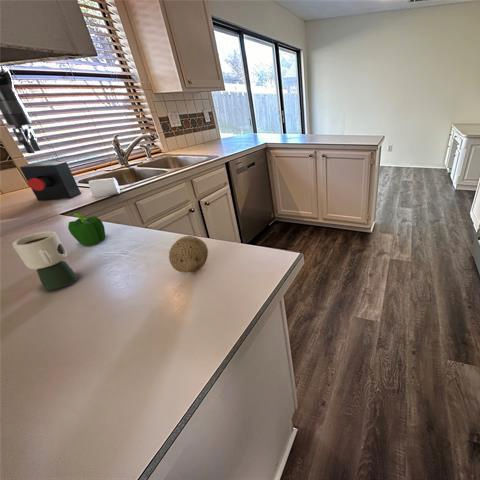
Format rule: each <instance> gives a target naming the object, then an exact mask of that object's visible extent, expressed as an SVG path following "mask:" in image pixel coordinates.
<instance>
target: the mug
mask: <svg viewBox="0 0 480 480" xmlns="http://www.w3.org/2000/svg"><path fill="white" fill-rule="evenodd" d="M88 188H89V191H90V192H91V194H92V196H93V197H94V198H100V197H101V198H102V197H108V196H109V197H110V196H115V195H120V194H121V188H120V185H119V182H118V180H117V179H116V178H115V177H110V178H100V179H92V180H88Z"/></svg>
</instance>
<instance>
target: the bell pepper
mask: <svg viewBox="0 0 480 480" xmlns="http://www.w3.org/2000/svg"><path fill="white" fill-rule="evenodd" d="M72 215H73V217H78V218H77V219H75V220H71V221H68V226H67V228H68V231H69V233H70V235H71V236H72V237H73V238H74V240H76V241H77V242H78V243H79V244H80V245H83V246H84V247H92V246H96V245H99V244H100V243H101V242H104V241H105V240H106V229H105V226H104V223H103V221H102V220H101V219H100V218H99V217H97V216H96V215H94V216H93V215H92V216H88V217H87V218H86V217H84V216H83V215H82V214H80V213H78V212H76V213H73V214H72Z"/></svg>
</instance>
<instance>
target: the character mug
mask: <svg viewBox="0 0 480 480" xmlns="http://www.w3.org/2000/svg"><path fill="white" fill-rule="evenodd" d="M12 247H13V248H14V250H15V251H16V253H17V254H18V256H19V257H20V259H21V260H22V262H23V263H24V265H25V267H27V268H28V269H29V270H36V273H37V275H38V278H39V280H40V283H41V284H42V287H43V288H44V290H45V291H52V290H58V289H60V288H65V287H66V286H70V285H72V284H73V283H75V282H76V281H77V280H78V276H77V274H76V273H75V272H74V270H73V268H71V267H70V265H69V264H68V263H67V261H65V259H66V258H67V257H68V253H67V251H66V249H65V247H64V245H63V243H62V242H61V240H60V238H59V236H58V234H57V232H55V231H52V230H51V231H50V230H49V231H40V232H36V233H35V232H34V233H31V234H28V235H25V236H21V237H19V238H17V239H15V240H14V241H13V242H12Z"/></svg>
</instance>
